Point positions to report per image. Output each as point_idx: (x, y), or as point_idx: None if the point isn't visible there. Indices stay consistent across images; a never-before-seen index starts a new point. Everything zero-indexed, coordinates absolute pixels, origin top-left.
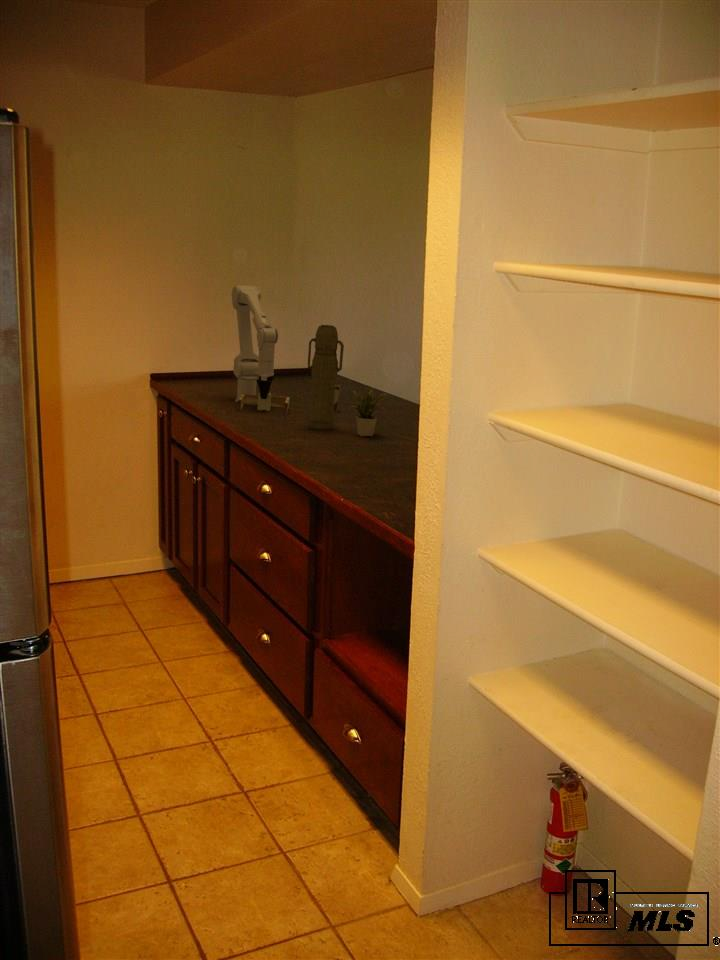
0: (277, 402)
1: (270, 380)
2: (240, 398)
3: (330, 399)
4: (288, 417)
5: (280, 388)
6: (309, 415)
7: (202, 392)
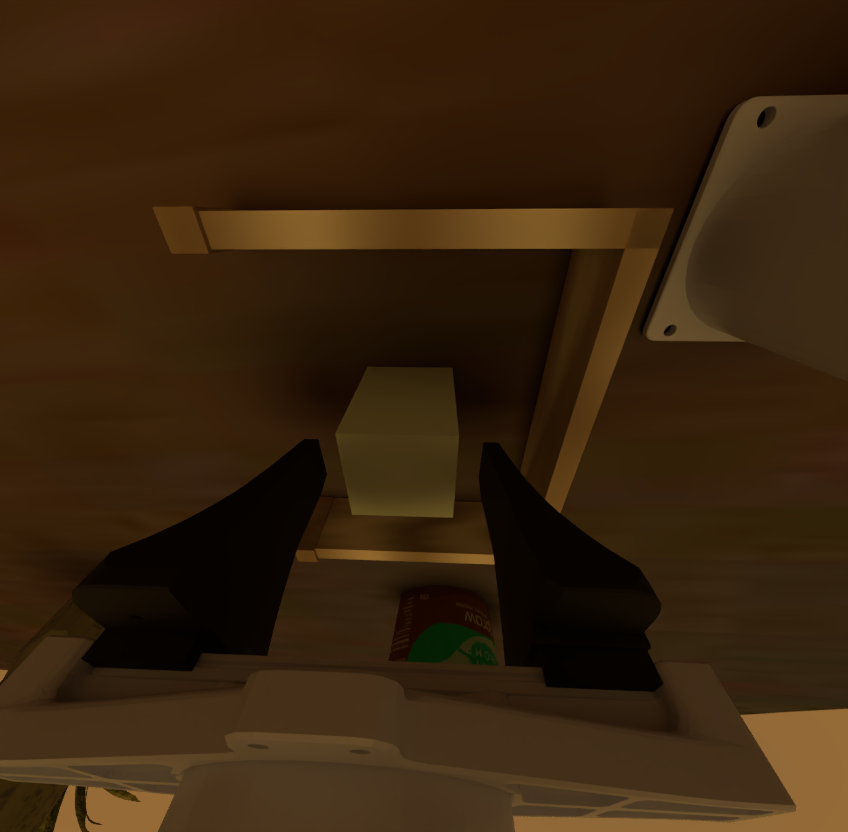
0: None
1: (505, 631)
2: (300, 227)
3: None
4: None
5: None
6: (63, 612)
7: None
